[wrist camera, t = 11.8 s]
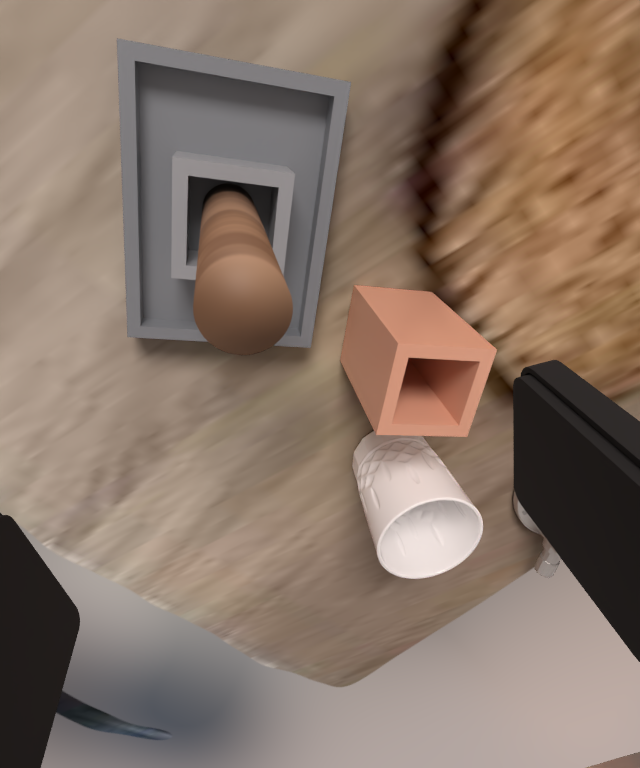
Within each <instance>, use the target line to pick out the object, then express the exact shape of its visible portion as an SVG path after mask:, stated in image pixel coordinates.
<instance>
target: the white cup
mask: <svg viewBox="0 0 640 768" xmlns="http://www.w3.org/2000/svg"><path fill="white" fill-rule="evenodd" d="M352 467H353V471H354V474H355V477H356V480H357V483H358V490H359V494H360V498H361V501H362V505H363V509H364V513H365V516H366V520H367V523H368V526H369V530H370V533H371V536H372V539H373V543H374V546H375V549H376V553H377V556H378V559H379V561H380V563H381V565H382V566H383V567H384V568H385V569H386V570H387V571H388V572H390V573H391V574H393V575H396V576H398V577H402V578H408V579H421V578H428V577H432V576H436V575H439V574H441V573H444V572H446V571H448V570H450V569H452V568H454V567H455V566H457V565H458V564H460V563H461V562H463V561H464V560H465V559H466V558H467V557H468V556H469V555H470V554H471V553H472V552H473V551H474V549H475V548H476V546H477V545H478V543H479V541H480V539H481V536H482V532H483V520H482V517H481V515H480V513H479V511H478V510H477V508H476V507H475V506H474V504H473V503H472V502H471V500H470V499H469V497H468V496H467V495H466V493H465V492H464V491H463V489H462V488H461V486H460V485H459V484H458V482H457V481H456V479H455V478H454V477H453V475H452V474H451V472H450V471H449V470H448V468H447V467H446V466H445V465H444V464H443V462H442V461H441V459H440V458H439V456H438V455H437V454H436V453H435V452H434V451H433V450H432V449H431V448H430V446H429V445H428V443H427V442H426V440H425V439H424V437H423V436H405V435H376V434H375V431H373V432H371V433H370V434H368V435H367V436H365V437H364V438H363V439H362V440H361V442H360V443H359V445H358V446H357V448H356V449H355V451H354V454H353V463H352Z"/></svg>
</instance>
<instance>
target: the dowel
mask: <svg viewBox="0 0 640 768" xmlns="http://www.w3.org/2000/svg"><path fill="white" fill-rule="evenodd" d="M193 314H194V319H195V322H196V325H197V327H198V329H199V331H200V332H201V334H202V335H203V337H204V338H205V339H206V340H207V341H208V342H209V343H210V344H212V345H213V346H215V347H216V348H218V349H220V350H222V351H225V352H227V353H231V354H237V355H250V354H255V353H259V352H262V351H264V350H266V349H268V348H270V347H272V346H273V345H275V344H276V343H277V342H278V341H279V340H280V339H281V338H282V337H283V336H284V334H285V333H286V331H287V329H288V327H289V325H290V323H291V319H292V315H293V302H292V297H291V294H290V291H289V289H288V286H287V284H286V281H285V279H284V276H283V274H282V271H281V269H280V267H279V264H278V262H277V259H276V257H275V254H274V252H273V249H272V247H271V244H270V242H269V239H268V237H267V234H266V232H265V229H264V227H263V224H262V222H261V219H260V217H259V214H258V212H257V210H256V207H255V205H254V202H253V200H252V198H251V196H250V195H249V194H248V192H247V191H246V190H244V189H243V188H242V187H240V186H238V185H235V184H229V183H225V184H220V185H217V186H215V187H214V188H212V189H211V190H210V191H209V192H208V193H207V195H206V196H205V199H204V201H203V207H202V217H201V228H200V238H199V249H198V259H197V270H196V280H195V291H194V302H193Z"/></svg>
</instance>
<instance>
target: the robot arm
mask: <svg viewBox="0 0 640 768" xmlns="http://www.w3.org/2000/svg"><path fill="white" fill-rule="evenodd" d="M513 409H514V490H515V491H514V498H513V504H514V510H515V512H516V514H517V516H518V518H519V519H520V520H521V522H522V523H523V524H524V526H526V527H527V528H528V529H529V530H531V531H533V532H535V533H538V534H542V536H543V537H544V539H543V542H542V545H543V547H544V549H543V551H542V552H541V553H540V555H539V557H538V559H537V561H536V563H535V565H534V567H535V570H536V571H537V573H539V574H540V575H541V576H544V577H549V578H550V577H552V576H553V575H554V573H555V571H556V569H557V567H558V565H559V562H560V559H562V560H563V562H564V563H565V564H566V566H567V567H568V568H569V569H570V571H571V572H572V573H573V575H574V576H575V577H576V579H577V580H578V581H579V583H580V584H581V585H582V587H583V588H584V589H585V591H586V592H587V593H588V595H589V596H590V597H591V599H592V600H593V601H594V603H595V604H596V605H597V607H598V608H599V609H600V611H601V612H602V613H603V615H604V616H605V617H606V619H607V620H608V621H609V623H610V624H611V625H612V627H613V628H614V629H615V631H616V632H617V633H618V635H619V636H620V637H621V639H622V640H623V641H624V643H625V644H626V645H627V647H628V648H629V649H630V651H631V652H632V653H633V655H634V656H635V657H636V658H637V659H638V661H639V662H640V421H638V420H637V419H636V418H634V417H633V416H632V415H630V414H629V413H628V412H626V411H625V410H624V409H622V408H621V407H620V406H618V405H617V404H616V403H614V402H613V401H612V400H610V399H609V398H608V397H606V396H605V395H604V394H602V393H601V392H600V391H598V390H597V389H596V388H594V387H593V386H592V385H590V384H589V383H588V382H586V381H585V380H584V379H582V378H581V377H580V376H578V375H577V374H576V373H574V372H573V371H572V370H570V369H569V368H568V367H566V366H565V365H564V364H562V363H561V362H559V361H557V360H551V361H547V362H544V363H540V364H536V365H533V366H529V367H525V368H524V369H523V370H522V372H521V377H518V378H516V379H515V380H514V385H513ZM79 626H80V617H79V612H78V609H77V607H76V606H75V604H74V603H73V602H72V600H71V599H70V597H69V596H68V595H67V593H66V592H65V590H64V589H63V588H62V586H61V585H60V583H59V582H58V581H57V579H56V578H55V577H54V575H53V574H52V572H51V571H50V569H49V568H48V567H47V565H46V564H45V562H44V561H43V560H42V558H41V557H40V555H39V554H38V553H37V551H36V550H35V549H34V547H33V546H32V544H31V543H30V542H29V540H28V539H27V537H26V536H25V535H24V533H23V532H22V530H21V529H20V528H19V526H18V525H17V523H16V522H15V521H14V519H13V518H12V517H10V516H8V515H2V514H1V513H0V768H41V764H42V760H43V757H44V753H45V750H46V746H47V742H48V739H49V735H50V731H51V728H52V724H53V721H54V717H55V714H56V710H57V706H58V703H59V699H60V696H61V692H62V688H63V685H64V681H65V678H66V674H67V670H68V667H69V663H70V660H71V656H72V652H73V649H74V645H75V641H76V638H77V634H78V631H79ZM587 768H640V752H638V753H634V754H631V755H627V756H624V757H620V758H617V759H614V760H611V761H607V762H604V763H600V764H597V765H594V766H590V767H587Z"/></svg>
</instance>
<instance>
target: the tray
mask: <svg viewBox="0 0 640 768" xmlns="http://www.w3.org/2000/svg"><path fill="white" fill-rule="evenodd" d="M117 55H118V83H119V111H120V139H121V167H122V195H123V223H124V251H125V279H126V307H127V335H128V337H136V338H153V339H170V340H187V341H204V342H208V341H207V340H206V339H205V338H204V337H203V335H202V334H201V332H200V331H199V329H198V327H197V325H196V322H195V319H194V314H193V302H194V291H195V280H196V270H197V259H198V249H199V238H200V228H201V217H202V207H203V201H204V199H205V196H206V195H207V193H208V192H209V191H210V190H211V189H212V188H214V187H215V186H217V185H220V184H225V183H229V184H235V185H238V186H240V187H242V188H243V189H244V190H246V191H247V192H248V194H249V195H250V196H251V198H252V200H253V202H254V205H255V207H256V210H257V212H258V214H259V217H260V219H261V222H262V224H263V227H264V229H265V232H266V234H267V237H268V239H269V242H270V244H271V247H272V249H273V252H274V254H275V257H276V259H277V262H278V264H279V267H280V269H281V271H282V274H283V276H284V279H285V281H286V284H287V286H288V289H289V291H290V294H291V297H292V302H293V315H292V319H291V323H290V325H289V327H288V329H287V331H286V333H285V334H284V336H283V337H282V338H281V339H280V340H279V341H278V342H277V343H276V344H275V345H273V346H289V347H306V348H311V343H312V336H313V330H314V323H315V316H316V310H317V303H318V297H319V290H320V283H321V277H322V270H323V264H324V257H325V250H326V244H327V237H328V231H329V224H330V217H331V211H332V204H333V198H334V191H335V184H336V178H337V171H338V165H339V158H340V152H341V145H342V138H343V132H344V125H345V119H346V112H347V105H348V99H349V92H350V86H351V82H348V81H342V80H337V79H332V78H326V77H321V76H316V75H310V74H305V73H300V72H294V71H289V70H283V69H278V68H273V67H267V66H262V65H257V64H251V63H246V62H241V61H235V60H230V59H225V58H219V57H214V56H209V55H203V54H198V53H193V52H187V51H182V50H177V49H171V48H166V47H160V46H155V45H150V44H144V43H139V42H134V41H128V40H123V39H118V38H117Z"/></svg>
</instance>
